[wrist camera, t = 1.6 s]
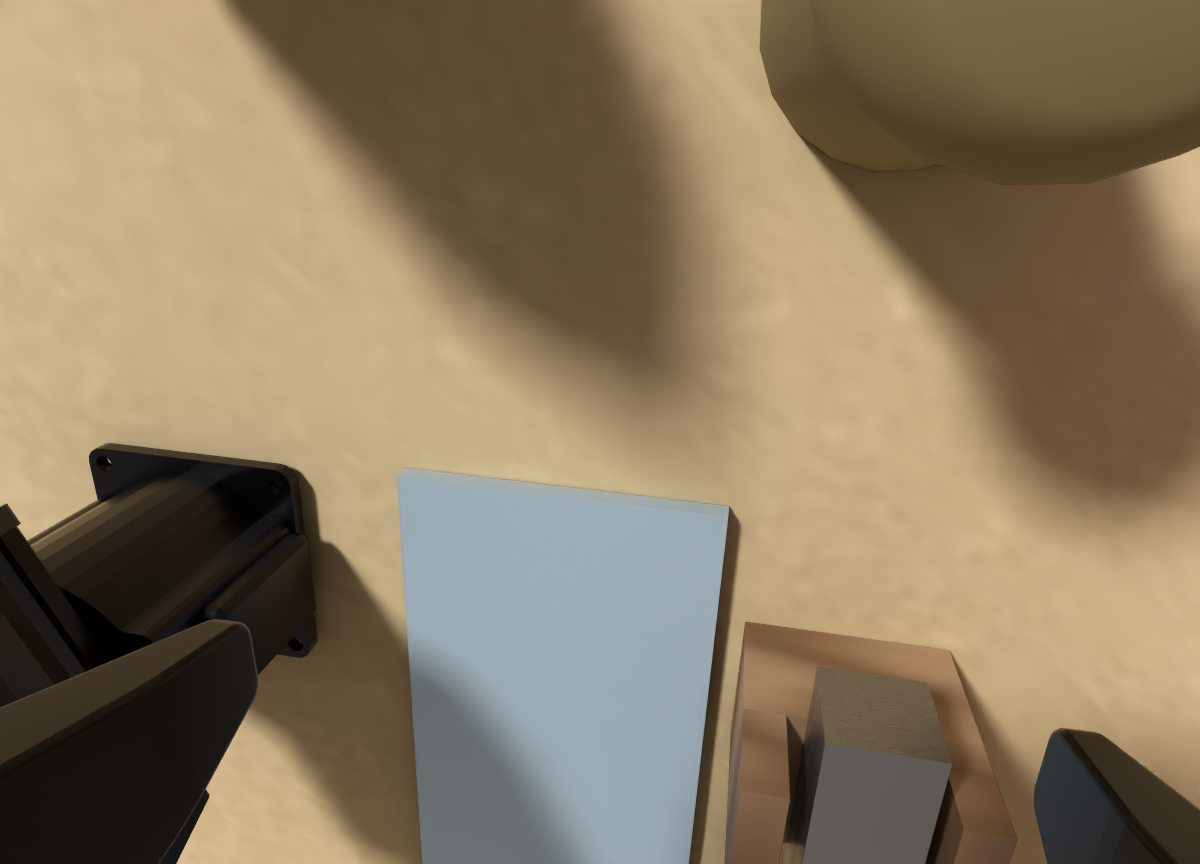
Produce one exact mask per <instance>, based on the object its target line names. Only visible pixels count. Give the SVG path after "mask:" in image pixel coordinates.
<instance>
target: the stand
mask: <svg viewBox="0 0 1200 864" xmlns="http://www.w3.org/2000/svg"><path fill="white" fill-rule="evenodd" d="M817 667H824V668H831V669H838V670H844V671H851V672H858V673H864V674H871V675H878V676H885V677H891V678H898V679H905V680H912V681H918V682H925V683H928V685H929V689H930V692H931V695H932V699H933V702H934V705H935V709H936V712H937V715H938V719H939V722H940V725H941V729H942V732H943V735H944V739H945V742H946V745H947V749H948V752H949V755H950V759H951V762H952V766H951V770H950V774H949V777H948V781H947V785H946V788H945V792H944V796H943V799H942V803H941V807H940V810H939V814H938V818H937V821H936V825H935V829H934V832H933V836H932V840H931V843H930V847H929V851H928V854H927V858H926V862H925V864H1009V863H1010V860H1011V857H1012V854H1013V851H1014V848H1015V845H1016V842H1017V837H1016V834H1015V831H1014V828H1013V825H1012V823H1011V820H1010V817H1009V814H1008V812H1007V809H1006V806H1005V803H1004V800H1003V798H1002V795H1001V792H1000V789H999V787H998V784H997V781H996V778H995V775H994V773H993V770H992V767H991V764H990V761H989V759H988V756H987V753H986V750H985V748H984V745H983V742H982V739H981V736H980V734H979V731H978V728H977V725H976V723H975V720H974V717H973V714H972V711H971V709H970V706H969V703H968V700H967V698H966V695H965V692H964V689H963V686H962V684H961V681H960V678H959V675H958V673H957V670H956V667H955V664H954V661H953V659H952V656H951V653H950V651H948V650H941V649H934V648H927V647H920V646H913V645H906V644H899V643H892V642H885V641H878V640H871V639H864V638H857V637H850V636H842V635H835V634H828V633H821V632H814V631H807V630H800V629H793V628H786V627H779V626H772V625H765V624H758V623H751V622H745V628H744V636H743V644H742V651H741V659H740V666H739V674H738V682H737V689H736V697H735V705H734V712H733V720H732V728H731V738H730V760H729V782H728V804H727V826H726V848H725V864H779V859H780V853H781V848H782V842H785V843H786V839H787V833H788V828H789V822H790V816H791V811H792V805H793V799H794V794H795V788H796V782H797V777H798V771H799V765H800V760H801V754H802V749H803V743H804V737H805V732H806V726H807V720H808V715H809V709H810V703H811V698H812V692H813V686H814V681H815V675H816V669H817Z"/></svg>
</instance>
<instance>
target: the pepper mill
mask: <svg viewBox="0 0 1200 864" xmlns="http://www.w3.org/2000/svg"><path fill="white" fill-rule="evenodd" d="M760 52H761V56H762V59H763V63H764V67H765V71H766V75H767V78H768V82H769V86H770V90H771V93H772V96H773V97H774V99H775V100H776V102H777V103H778V105H779V107H780V108H781V110H782V111H783V113H784V114H785V116H786V117H787V119H788V120H789V122H790V123H791V125H792V126H793V128H794V129H795V131H796V132H797V133H798V134H799V135H801V136H802V137H803V138H805V139H806V140H807V141H809V142H810V143H811V144H813V145H814V146H815V147H817V148H818V149H819V150H821V151H822V152H823V153H825V154H826V155H827V156H829V157H830V158H832V159H835V160H838V161H841V162H844V163H848V164H851V165H854V166H857V167H860V168H864V169H867V170H870V171H912V170H921V169H924V168H927V167H930V166H933V165H936V164H938V165H941V166H944V167H947V168H951V169H954V170H957V171H960V172H964V173H967V174H970V175H973V176H976V177H980V178H983V179H986V180H989V181H992V182H996V183H999V184H1002V185H1032V184H1086V183H1092V182H1095V181H1099V180H1102V179H1105V178H1108V177H1111V176H1115V175H1118V174H1121V173H1124V172H1128V171H1131V170H1134V169H1137V168H1140V167H1144V166H1147V165H1150V164H1153V163H1156V162H1160V161H1163V160H1166V159H1169V158H1173V157H1176V156H1179V155H1181V154H1184V153H1186V152H1188V151H1191V150H1193V149H1195V148H1197V147H1200V0H762V5H761V31H760Z"/></svg>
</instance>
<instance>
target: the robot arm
mask: <svg viewBox="0 0 1200 864" xmlns="http://www.w3.org/2000/svg"><path fill="white" fill-rule="evenodd" d="M107 458H108V459H109V460H110V462H111V463H109V462H108V459H107ZM89 463H90V467H91V472H92V476H93V481H94V485H95V489H96V494H97V498H98V500H97V501H95V502H94V503H92V504H90V505H88V506H87V507H85V508H83V509H81V510H80V511H78V512H76V513H74V514H73V515H71V516H69V517H68V518H66V519H64V520H62V521H61V522H59V523H57V524H55V525H54V526H52V527H50V528H48V529H47V530H45V531H43V532H42V533H40V534H38V535H36V536H35V537H33V538H31V539H29V540H28V541H27V540H26V539H25V537H24V536H23V534H22V533H21V531H20V530H19V529H18V527H17V526H18V525H19V524H21V523H20V522H19V520H18V519H17V517H16V516H15V514H14V513H13V512H12V510H11V509H10V507H9V506H8V504H4V505H2V506H0V864H176V863H177V861H178V859H179V857H180V855H181V853H182V851H183V849H184V847H185V845H186V843H187V841H188V839H189V837H190V835H191V833H192V831H193V829H194V827H195V825H196V823H197V821H198V819H199V817H200V815H201V813H202V811H203V809H204V807H205V805H206V803H207V801H208V798H209V793H208V792H207V790H206V787H207V785H208V784H209V782H210V780H211V778H212V776H213V774H214V772H215V771H216V769H217V767H218V765H219V763H220V761H221V760H222V758H223V756H224V754H225V752H226V750H227V748H228V747H229V745H230V743H231V741H232V739H233V737H234V735H235V734H236V732H237V730H238V728H239V726H240V724H241V723H242V721H243V719H244V717H245V715H246V713H247V711H248V710H249V708H250V706H251V704H252V702H253V700H254V698H255V695H256V692H257V687H258V675H259V674H260V672H261V671H262V670H263V669H264V668H265V667H266V666H267V665H268V664H269V662H270V661H271V660H272V659H273V658H274V657H275V656H276V655H277V654H279V655H286V656H292V657H304V656H307V655H308V654H309V652H310V651H311V650H312V649H313V648H314V646H315V645H316V643H317V635H316V627H315V618H314V612H315V610H316V605H315V597H314V588H313V579H312V571H311V562H310V554H309V545H308V542H307V540H306V538H305V534H304V525H303V517H302V508H301V500H300V491H299V483H298V479H297V476H296V474H295V473H294V471H293V470H292V469H290V468H289V467H288V466H286V465H283V464H278V463H269V462H261V461H253V460H245V459H237V458H228V457H220V456H212V455H204V454H195V453H187V452H179V451H171V450H163V449H154V448H146V447H138V446H130V445H122V444H113V443H108V444H104V445H102V446H100V447H98V448H96V449H94V450H93V451H91V453H90V455H89ZM274 478H277V479H279V480H280V481H281V483H282V485H283V487H280V486H279V485H278V484H277V483H276V482H275V479H274ZM296 638H297V639H299V640H300V641H301V642H302V643H301V642H299V641H298V640H297V639H296ZM1034 807H1035V813H1036V818H1037V822H1038V826H1039V830H1040V834H1041V838H1042V842H1043V847H1044V851H1045V855H1046V859H1047V863H1048V864H1200V809H1199V808H1197V807H1196V806H1195V805H1193V804H1192V803H1191V802H1190V801H1188V800H1187V799H1186V798H1184V797H1183V796H1182V795H1180V794H1179V793H1178V792H1177V791H1175V790H1174V789H1173V788H1171V787H1170V786H1169V785H1167V784H1166V783H1165V782H1164V781H1162V780H1161V779H1160V778H1158V777H1157V776H1156V775H1154V774H1153V773H1152V772H1151V771H1149V770H1148V769H1147V768H1145V767H1144V766H1143V765H1141V764H1140V763H1139V762H1138V761H1136V760H1135V759H1134V758H1132V757H1131V756H1130V755H1128V754H1127V753H1126V752H1125V751H1123V750H1122V749H1121V748H1119V747H1118V746H1117V745H1115V744H1114V743H1113V742H1112V741H1110V740H1109V739H1108V738H1106V737H1105V736H1103V735H1101V734H1099V733H1096V732H1090V731H1083V730H1075V729H1067V728H1060V729H1057V730H1055V731H1054V732H1053V733H1052V735H1051V737H1050V739H1049V742H1048V745H1047V748H1046V752H1045V755H1044V758H1043V762H1042V765H1041V768H1040V772H1039V775H1038V778H1037V782H1036V785H1035V790H1034Z"/></svg>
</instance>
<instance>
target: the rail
mask: <svg viewBox="0 0 1200 864" xmlns="http://www.w3.org/2000/svg"><path fill="white" fill-rule="evenodd" d="M951 766H952V762H951V759H950V755H949V752H948V749H947V745H946V742H945V739H944V735H943V732H942V729H941V725H940V722H939V719H938V715H937V712H936V709H935V705H934V702H933V699H932V695H931V692H930V689H929V685H928V683H925V682H918V681H912V680H905V679H898V678H891V677H885V676H878V675H871V674H864V673H858V672H851V671H844V670H838V669H831V668H824V667H817V669H816V675H815V681H814V686H813V692H812V698H811V703H810V709H809V715H808V720H807V726H806V732H805V737H804V743H803V749H802V754H801V760H800V765H799V771H798V777H797V782H796V788H795V794H794V799H793V805H792V811H791V816H790V822H789V828H788V833H787V839H786V845H785V850H784V856H783V862H782V864H925V862H926V858H927V854H928V851H929V847H930V843H931V840H932V836H933V832H934V829H935V825H936V821H937V818H938V814H939V810H940V807H941V803H942V799H943V796H944V792H945V788H946V785H947V781H948V777H949V774H950V770H951Z"/></svg>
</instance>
